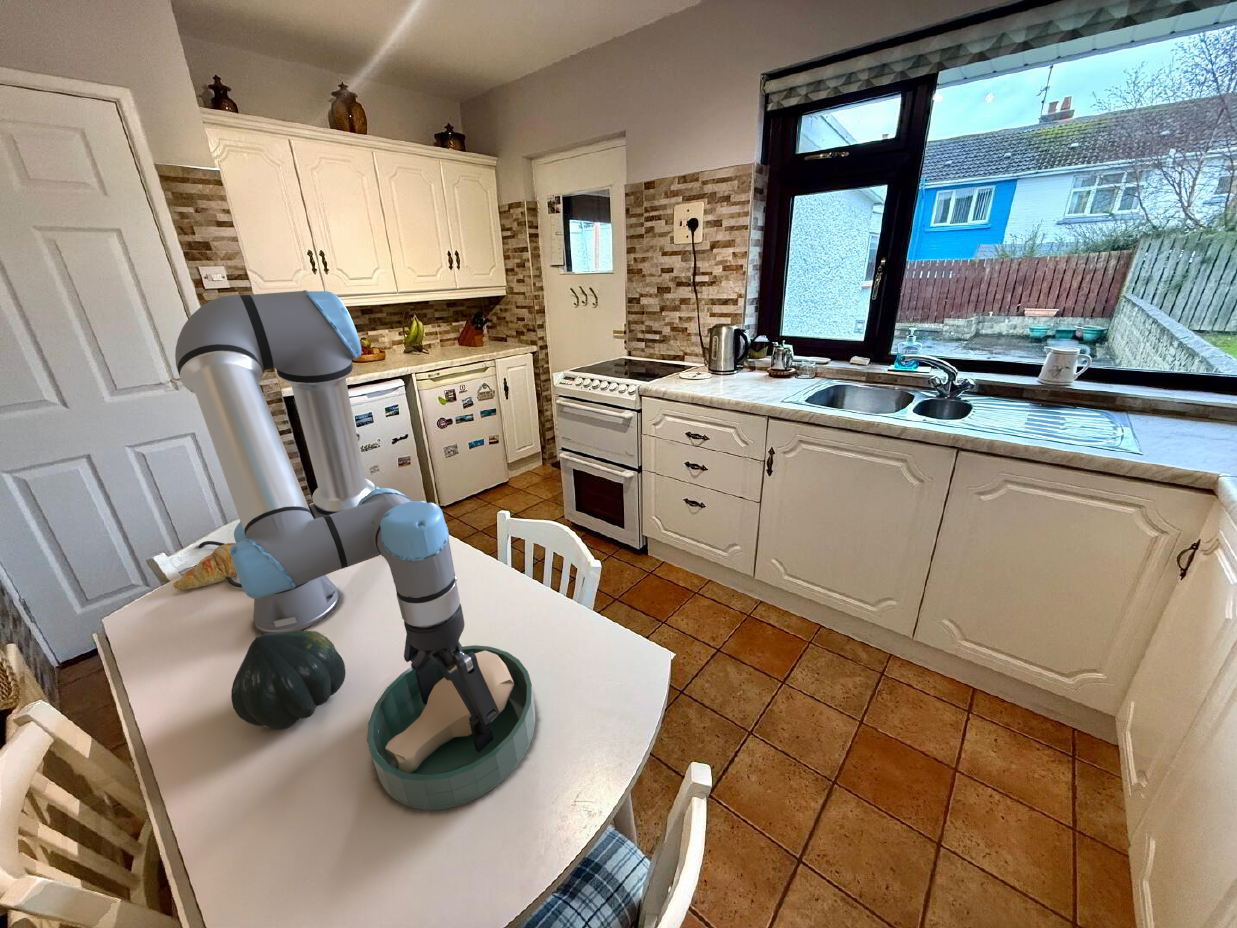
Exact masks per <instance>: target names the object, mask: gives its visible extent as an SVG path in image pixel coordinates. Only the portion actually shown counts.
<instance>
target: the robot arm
mask: <svg viewBox="0 0 1237 928" xmlns="http://www.w3.org/2000/svg"><path fill="white" fill-rule="evenodd" d="M360 340H361V339H360V338H359V334H358V331H357V329H356V326H355V324H354V322H353V319H352V317H351V315H350V313H349V311H348V309H347V307H346V306H345V303H344V302H343V301H342V300H341V298H340V297H339V296H338V295H336V293H334V292H331V291H328V290H314V291H313V290H311V291H310V290H307V289H304V290H295V291H284V292H283V291H282V292H267V293H256V294H255V293H253V294H231V295H230V294H229V295H224V296H220V297H217V298H214V299H212V300H210V301H208V302H206V303H204V304H203V305H201V306H200V307H199V308H198V309H196V310H195V311H194V312H193V314H191V315H190V317H189V318H188V319H187V320H186V322H185V323H184V325H183V326H182V328H181V330H180V333H179V335H178V337H177V340H176V346H175V351H174V352H175V353H174V358H175V367H176V369H177V373H178V376H179V379H180V382H181V383H182V385H183V387H184V388H186V390H188V391H190V392H191V393H193V394H195V397H196V400H197V403H198V405H199V408H200V411H201V414H202V416H203V420H204V422H205V425H206V428H207V431H208V434H209V436H210V439H211V442H212V445H213V448H214V451H215V453H216V456H217V459H218V461H219V465H220V467H221V470H222V474H223V476H224V479H225V482H226V485H227V487H228V488H227V489H228V490H229V493H230V496H231V499H232V502H233V505H234V507H235V510H236V514H237V516H238V519H239V522H238V524H237V525H236V527H235V529H234V531H233V538H234V543H235V544H233V545H232V546H231V548H230V554H231V557H232V561H233V564H234V567H235V570H236V573H237V575H236V576H237V578H238V580H239V582H237V581H234V580H233V577H232V578H231V577H226V579H227V580H226V581H227V583H228V584H229V585H230V586H232V587H235V588H240V589H242V590H243V592H244V593H245V595H246V596H247V597H249V598H251V599H254V600H253V614H252V615H253V622H254V624H255V628H256V629H257V631H258V632H259V633H261V634H263V635H264V634H270V633H280V632H290V631H304V630H305V629H308V628H310V627H312V626H314V625H316V624H318V623H320V622H321V621H323V620H324V619H325V618H327V617H328V616H329V615H330V614H332V612H334V610H335V609H336V608H337V607H338V605H339V603H340V593H339V590H338V588H337V586H336V585H335V584H334V582H333V581H332V580H331V579H330V578H329V577H328V576H327V575H329V574H332V573H334V572H337V571H339V570H343V569H345V568H349V567H352V566H355V565H357V564H360V563H362V562H365V561H366V562H367V560H372V559H374V558H377V557H379V556H381V557H383V558H384V560H385V561H386V563H387V564H388V566H389V569H390V573H391V576H392V580H393V583H394V587H395V591H396V599H397V604H398V607H399V612H400V614H401V618H402V620H403V623H404V624H403V625H404V629H405V633H406V637H405V644H404V652H403V658H404V661H406V662H407V663H409V662H411V663H410V667H412V669H413V670H416V672H415V674H416V678H417V682H418V686H419V690H420V694H421V698H422V702H423V703H424V704H425V705H426V704H427V702H428V698H429V695H430V693H431V691H432V690H433V688H434V686H435V685H436V684H437V683H438V682H437V678H436V674H435V669H434V665H433V663H434V664H435V665H436V666H438V667H439V668H440V670H441V672H442V674H443V675H444V677H445V679H446V680H450V681H452V683H453V685H454V687H455V688H456V690H457V692H458V694H459V695H460V697H461V699H462V700H463V702H464V704H465V706H466V707H467V709H468V711H469V712H470V714H471V717H470V718H469V721H470V722H469V724H470V726H471V731H472V736H473V740H474V745H475V750H476V751H477V752H478V753H479V752H480V751H481V750H482V749H483V748H484V747H485V746H487V745H488V744H489V743H490V742H491V741H492V740H493V739H494V738H493V733H492V726H491V720H493V719H494V718H495V717H496V716H497V715H498V714H499V710H498V707H497V705H496V703H495V701H494V699H493V696H492V694H491V692H490V690H489V688H488V686H487V683H486V681H485V679H484V677H483V675H482V672H481V670H480V668H479V665H478V661H477V658H476V655H475V654H474V652H470V653H469V654H468V655H466V654H464V653H463V651H462V647H463V646H462V644H461V643H460V638H461V636H462V634H463V632H464V630H465V618H464V612H463V607H462V604H461V599H460V598H461V597H460V593H459V589H458V588H459V587H458V583H457V581H458V577H457V576H456V571H455V566H454V561H453V555H452V550H451V543H450V539H449V538H450V533H449V527H448V525H447V523H446V520H445V517H444V513H443V510H442V509H441V507H440V506H439V505H438V504H436V503H434V502H427V501H426V500H414V501H413V500H412V499H411V498H410V497H409V496H407V495H405V494H404V493H402V492H400V491H398V490H396V489H393V488H389V487H380V486H377V485H376V486H375V484H374V483H373V482H372V481H371V480H370V479H367V478H366V477H365V476H366V475H365V469H364V465H363V460H362V455H361V450H360V445H359V440H358V439H359V438H358V434H357V430H356V424H355V420H354V414H353V409H352V404H351V399H350V393H349V389H348V385H347V384H348V383H347V379H348V377H350V375H351V374H353V372H354V365H353V360H357V359H358V358H360V357H361V356H362V343H361V341H360ZM268 370H276V375H277V376H278V378H279V379H280V380H282V381H284V382H286V383H287V384H290V386H291V390H292V393H293V397H294V401H295V405H296V409H297V412H298V416H299V420H300V424H301V428H302V432H303V436H304V440H305V443H306V446H307V450H308V454H309V457H310V458H309V459H310V462H311V465H312V469H313V473H314V476H315V480H316V484H317V488H316V489H315V490H314V492H313V494H312V496H311V497H312V498H311V499H312V504H308V501H307V500H306V497H305V494H304V492H303V490H302V487H301V484H300V482H299V480H298V477H297V475H296V473H295V470H294V467H293V464H292V462H291V460H290V457H289V455H288V452H287V450H286V447H285V446H284V443H283V439H282V437H281V434H280V432H279V430H278V428H277V424H276V422H275V420H274V417H273V415H272V412H271V410H270V408H269V405H268V403H267V401H266V397H265V395H264V392H263V390H262V387H261V385H260V382H261V380H262V377H263V371H268ZM224 544H226V543H224V542H220V541H216V540H206V541H202V542H200V543H199V544H198V549H202V548H204V547H205V546H209V545H210V546H211V545H212V546H216V547H217V546H218V547H219V546H221V545H224ZM429 660H431V661H432V662H433V663H431V662H429V663H428V664H427V663H426V662H428V661H429ZM454 665H456V666H457V668H456V669H455V670H454V671H452V672H451V673H450V672H449V669H450V668H452V667H453V666H454Z"/></svg>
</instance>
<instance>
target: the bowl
mask: <svg viewBox="0 0 1237 928" xmlns="http://www.w3.org/2000/svg"><path fill="white" fill-rule="evenodd" d="M462 651H463V653H464V654H466V655H468V654H469V653H470V652H474V654H475V653H478V652H482V651H488V652H491V653H494V654H496V655H498V656H499V658H500V659H501V660H502V661H503V662H504V663H505V665H506V666H507V669H508V671H509V673H510V675H511V678H512V680H513V682H514V687H513V689H512V692H511V694H510V696H509V698H508V701H507V703H506V705H505V708H504V709H503V710H502V711H501V712H500V713H499V714H498V716H497V717H496V718H495V719H494V720H493V721H492V722H491V726H492V733H493V738H494V739H493V740H492V741H491V742H490V743H489V744H488V745H487V746H485V747H484V748H483V749H482V750H481V751H480V752H479V753H478V752H477V751H476V750H475V745H474V740H473V736H472V734H470V735H468V736H461V737H455V738H453V739H451V740H450V741H448V742H446V743H445V744H443V745H441V746H440V747H439V748H437V749H436V750H435V751H434V752H433V753H432V754H430V755H429V756H428V757H427V758H426V759H424V760H423V761H422V763H421V764H420V765H419V767H418V768H417V769H416V770H414V771H413V772H411V773H410V774H409V773H404V772H402V771H400V770H399V769H398V767H397V765H396V762H395V761H394V760H393V759H392V758H390V757H389V756H387V755H386V750H385V748H386V746H387V744H388V742H389V741H390V740H391V739H393V738H394V737H395V736H397V735H399V734H400V733H402V732H404V731H405V730H406V729H407V728H408V727H409V726H410V725H411V724H413V723H414V722H415V721H416V720H417V719H418V718H419V717H420V716H421V714H422V712H423V710H424V709H425V707H426V705H427V704H426V705H425V704H424V703H423V702H422V698H421V694H420V690H419V686H418V682H417V678H416V674H415V672H416V670H413V669H412V667H411V666H410V667H409V668H407V669H406V670H404V671H403V672H402V673H401V674H400V675H399V676H398V677H396V678H395V679H394V680H393V681H392V682H391V683H390V684H389V685H388V686H387V687H386V688H385V689H384V691H383V692H382V694H381V696H380V697H379V698H378V700H377V701H376V703H375V704H374V706H373V709H372V711H371V714H370V717H369V719H368V722H367V731H366V733H367V734H366V743H367V746H368V749H369V752H370V756H371V758H372V759H371V760H372V762H373V765H374V767H375V771H376V773H377V776H378V777H377V778H378V780H379V782H380V785H381V786H382V787H383V789H384V790H385V792H386V793H387V794H388V795H389V796H390V797H391V798H392V799H394V800H395V801H397V802H399V804H402V805H404V806H407V807H410V808H413V809H417V810H424V811H425V810H427V811H437V810H438V811H439V810H446V809H450V808H451V809H452V808H455V807H459V806H462V805H465V804H468V803H470V802H473V801H474V800H477V799H479V798H481V797H483V796H484V795H486V794H487V793H489V792H490V791H492V790H493V789H494V788H496V787H497V786H499V785H501V783H502V782H503V781H505V780H506V779H507V778H508V777H509V776H510V775H511V774H512V773H513V772H514V770H515V769H516V768H517V767H518V765H519V764H520V762H521V761H522V760H523V758H524V757H525V755H526V753H527V751H528V750H529V747H530V745H531V742H532V740H533V736H534V732H535V727H536V705H535V704H536V703H535V698H534V690H533V684H532V681H531V677H530V674H529V671H528V670H527V668H526V667H525V666H524V664H523V663H522V662H521V660H520V659H518V658H517V657H516V656H514V655H513V654H511V653H510V652H508V651H506V650H503V649H500V648H496V647H494V646H490V645H489V646H487V645H477V644H476V645H475V644H473V645H465V646H462ZM429 662H431V663H433V662H432V661H431V660H429V661H428V662H426V663H427V664H428V663H429ZM433 665H434V669H435V674H436V678H437V682H439V681H440V680H442V679H443V678H444V675H443V674H442V672H441V670H440V668H439V667H438V666H436V665H435V664H434V663H433ZM455 666H456V665H454V666H453V667H452V668H454V667H455ZM452 668H450V669H449V672H450V670H451V669H452Z"/></svg>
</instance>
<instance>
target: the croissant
mask: <svg viewBox="0 0 1237 928" xmlns="http://www.w3.org/2000/svg"><path fill="white" fill-rule="evenodd" d="M235 543H236V542H228V543H227V542H226V543H225V544H224V545H221V546H218V547H216V548H215V549H214V550H213V551H212V554H209V555H206V557H204V558H202V559H201V560H200V561H199V562H198V564H197V565H195V566H194V567H193V568H191V569H189V570H187V571H186V572H185V573H183V575H182V576H181V578H180V579H178V580H176V581H175V582H173V583H172V588H173V589H174V590H175V591H176V590H177V591H183V590H185V591H186V590H191V589H198V588H201V587H202V588H203V587H205V586H209V585H214V584H217V583H220V582H224V581H227V579H226V577H231V578H232V579H233V578H234V577H236V576H237V573H236V570H235V567H234V564H233V561H232V557H231V554H230V548H231V546H232V545H233V544H235Z"/></svg>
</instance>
